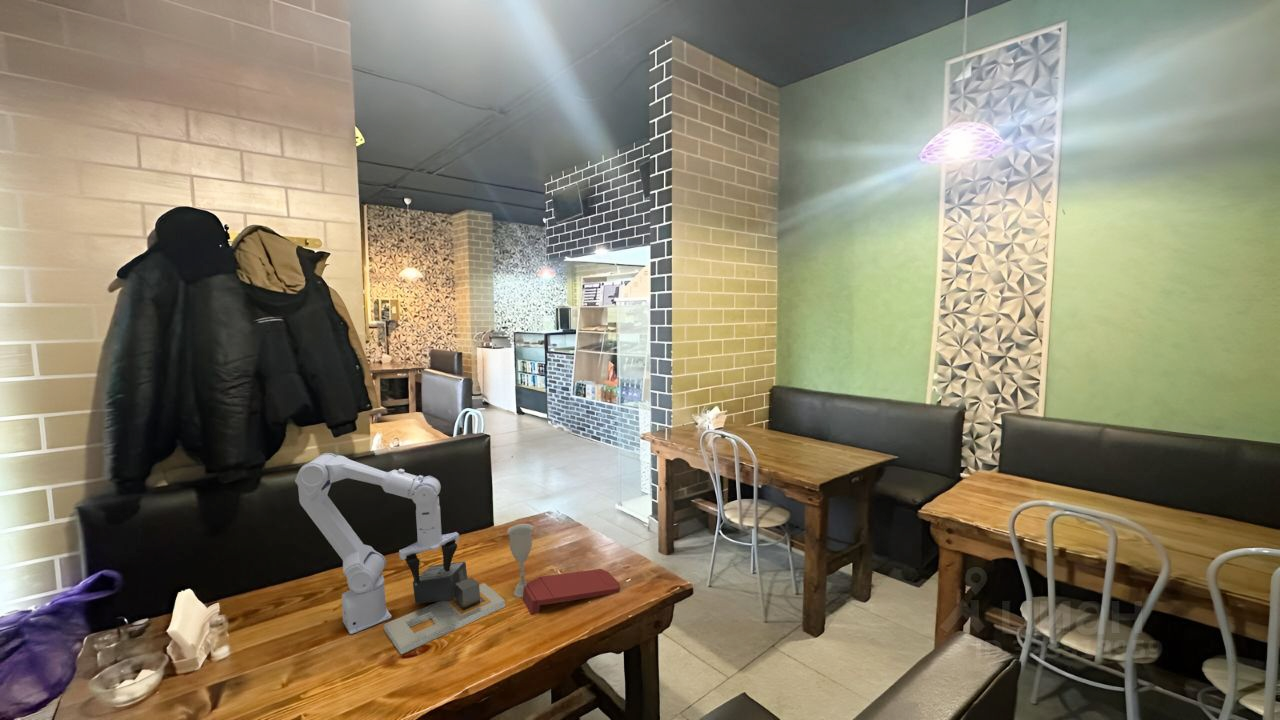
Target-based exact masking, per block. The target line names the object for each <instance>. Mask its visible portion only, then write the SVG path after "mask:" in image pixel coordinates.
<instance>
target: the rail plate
mask: <svg viewBox="0 0 1280 720" xmlns="http://www.w3.org/2000/svg"><path fill="white" fill-rule="evenodd" d="M479 589H480V604H478V605H475V606H473V607H471V608H469V609H466V610H464V611H463V610H462V609H461V608H460V607H459V606H458V605H457V604H456V597H455V598H454V599H450V600H442V601H435V603H434V602H433V603H432V604H430V605H427V606H425V607H422V608H420V609H417V610H415V611H412V612H410V613H407V614H405V615H402V616H400V617H398V618H395V619H393V620H391V621H388V622H386V623H384V625H383V629H384V633H385V634H386V635H387V637H388V638H389V640H390V641H391V642H392V645H394V646H395V648H396V650H397V651H398V653H399V654H400V655H403V654H405V653H408V652H410V651H413V650H414V649H417V648H418V647H421V646H423V645H426V644H427V643H429V642H432V641H434V640H436V639H438V638H440V637H442V636H445V635H447V634H449V633H451V632H454V631H456V630H458V629H460V628H462V627H464V626H467V625H469V624H470V623H473V622H475V621H478V620H480V619H481V618H484V617H486V616H488V615H490V614H493V613H495V612H496V611H497V612H498V611H499V610H501V609H504V608H506V599H504V597H501V595H499V594H498V593H497V592H496V591H495V590H493V588H491V587H490V586H488V585H487V584H486V583H484V582H483V583H481V584H480V583H479ZM428 620H431V621H432V622H433V623H434V624H432V625H429V626H428V627H425V628H422V629H420V630H417V631H416V632H414V631H413V630H412V627H414V626H416V625H419V624H421V623H423V622H425V621H428Z"/></svg>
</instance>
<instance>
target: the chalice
mask: <svg viewBox="0 0 1280 720" xmlns="http://www.w3.org/2000/svg"><path fill="white" fill-rule="evenodd" d="M533 529H534V526H533V525H532V524H530V523H518V524H515V525H513V526H510V527H509V528H508V529H507V533H508V536H509V550H510V552H511V553H512V556H513V558H514V559H515V561H516V562H517V563H518V564H519V568H518V570H519V572H520V574H519V575H518V576H519V577H520V581H519V582H517V584H516V585H515V588H514V591H513V595H514V596H515V597H516V598H523V590H524V586H527V583H528V581H526V580H525V577H526V573H525V572H524V571H525V565H524V564H525V562H526V561H527V560H528V557H529V556H530V553H531V550H532V546H533V543H532V541H533V540H532V532H533Z"/></svg>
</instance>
